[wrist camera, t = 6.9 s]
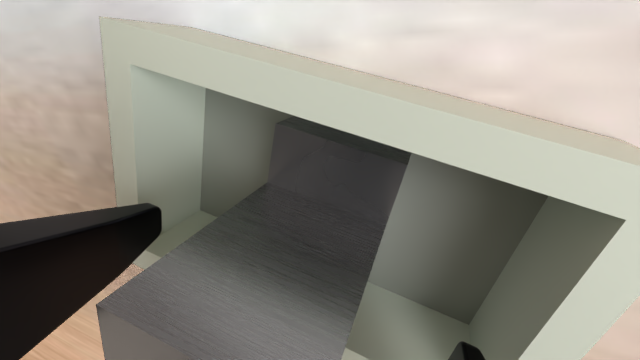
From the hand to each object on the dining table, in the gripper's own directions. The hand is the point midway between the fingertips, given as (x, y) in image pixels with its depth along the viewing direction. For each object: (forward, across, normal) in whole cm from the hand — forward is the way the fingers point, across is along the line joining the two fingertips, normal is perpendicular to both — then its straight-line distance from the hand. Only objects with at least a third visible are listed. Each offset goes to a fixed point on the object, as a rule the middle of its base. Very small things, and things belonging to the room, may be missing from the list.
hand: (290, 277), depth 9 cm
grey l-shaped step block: (+4, 0, -1) cm, 4 cm away
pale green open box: (+4, 0, -1) cm, 4 cm away
